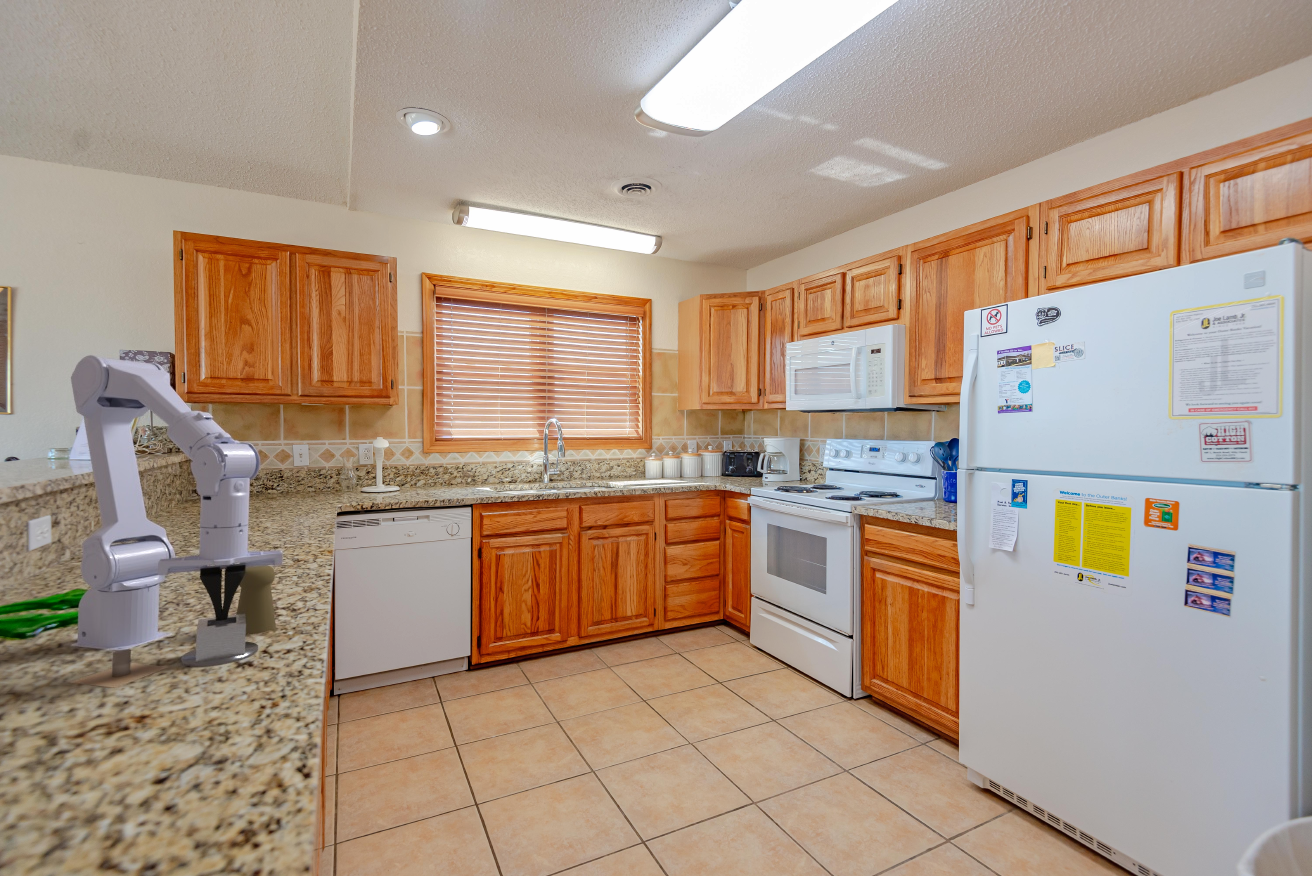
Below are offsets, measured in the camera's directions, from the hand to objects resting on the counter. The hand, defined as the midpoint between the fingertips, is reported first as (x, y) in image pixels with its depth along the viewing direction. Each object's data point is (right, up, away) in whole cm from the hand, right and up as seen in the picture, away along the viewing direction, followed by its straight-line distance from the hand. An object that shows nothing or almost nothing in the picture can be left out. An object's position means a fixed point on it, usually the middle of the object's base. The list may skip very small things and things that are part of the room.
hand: (221, 618), depth 86 cm
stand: (-8, -6, -8) cm, 12 cm away
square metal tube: (0, -5, 0) cm, 5 cm away
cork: (-3, -6, +12) cm, 13 cm away
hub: (0, -6, 0) cm, 6 cm away
